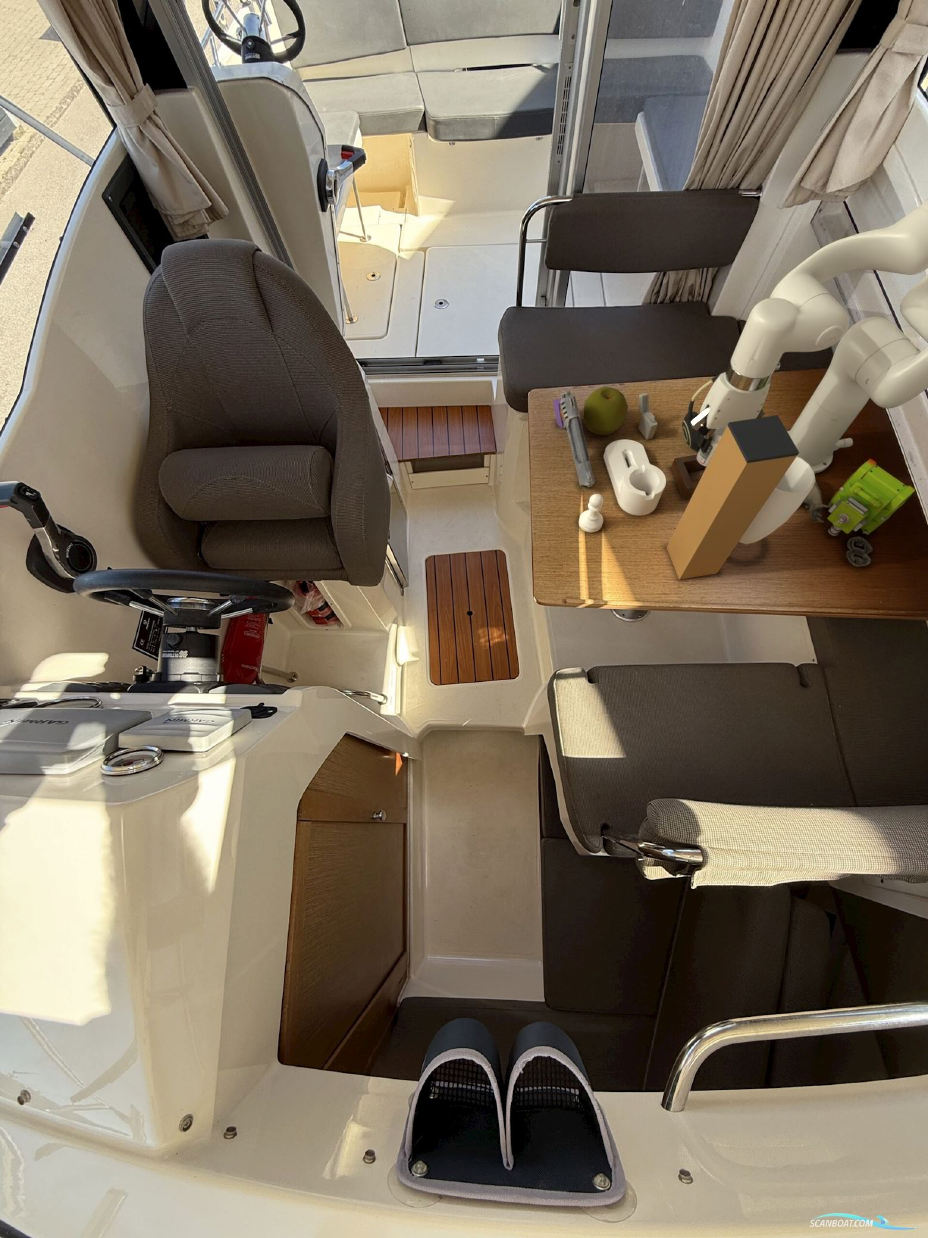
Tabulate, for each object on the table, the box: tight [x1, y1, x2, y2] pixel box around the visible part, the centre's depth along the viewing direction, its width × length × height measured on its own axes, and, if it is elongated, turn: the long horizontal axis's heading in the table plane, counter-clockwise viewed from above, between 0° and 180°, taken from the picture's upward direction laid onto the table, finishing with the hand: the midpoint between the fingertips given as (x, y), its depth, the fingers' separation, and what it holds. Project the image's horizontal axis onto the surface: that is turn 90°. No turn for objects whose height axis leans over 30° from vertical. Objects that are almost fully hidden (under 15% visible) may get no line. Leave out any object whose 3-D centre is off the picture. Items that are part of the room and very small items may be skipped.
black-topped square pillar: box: [666, 414, 799, 580], centre depth 103 cm, size 8×8×35 cm
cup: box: [738, 457, 816, 545], centre depth 110 cm, size 10×10×22 cm
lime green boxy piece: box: [827, 458, 916, 537], centre depth 115 cm, size 13×16×14 cm
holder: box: [669, 454, 706, 500], centre depth 126 cm, size 9×9×4 cm
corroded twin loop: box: [845, 535, 874, 568], centre depth 117 cm, size 5×8×1 cm, turn 156°
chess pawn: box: [578, 493, 604, 533], centre depth 119 cm, size 5×5×9 cm
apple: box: [582, 386, 629, 436], centre depth 131 cm, size 10×10×11 cm
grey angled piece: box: [638, 392, 659, 441], centre depth 132 cm, size 7×2×8 cm, turn 22°
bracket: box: [603, 439, 667, 516], centre depth 125 cm, size 20×9×7 cm, turn 7°
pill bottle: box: [696, 427, 726, 467], centre depth 118 cm, size 5×5×8 cm
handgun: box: [552, 390, 596, 488], centre depth 130 cm, size 3×22×15 cm
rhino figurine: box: [802, 479, 830, 524], centre depth 121 cm, size 4×14×6 cm, turn 7°
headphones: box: [681, 370, 726, 451], centre depth 124 cm, size 9×15×20 cm, turn 98°
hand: (715, 444), depth 118 cm, fingers closed on pill bottle, 4 cm apart
